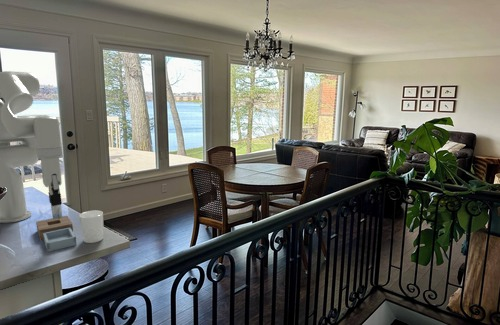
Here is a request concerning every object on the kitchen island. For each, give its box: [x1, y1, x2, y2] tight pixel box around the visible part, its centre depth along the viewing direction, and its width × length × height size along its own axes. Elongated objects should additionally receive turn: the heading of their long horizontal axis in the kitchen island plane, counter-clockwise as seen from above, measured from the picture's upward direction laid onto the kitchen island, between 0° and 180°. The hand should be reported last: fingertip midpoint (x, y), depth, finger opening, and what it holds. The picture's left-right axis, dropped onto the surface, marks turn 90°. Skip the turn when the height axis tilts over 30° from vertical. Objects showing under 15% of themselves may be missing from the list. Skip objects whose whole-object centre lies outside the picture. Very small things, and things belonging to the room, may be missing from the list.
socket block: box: [35, 215, 74, 241], centre depth 131 cm, size 11×11×4 cm
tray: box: [43, 228, 77, 252], centre depth 122 cm, size 11×9×3 cm
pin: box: [48, 187, 63, 219], centre depth 119 cm, size 3×3×12 cm
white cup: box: [78, 209, 104, 244], centre depth 124 cm, size 8×8×10 cm
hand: (55, 203), depth 119 cm, fingers closed on pin, 3 cm apart
